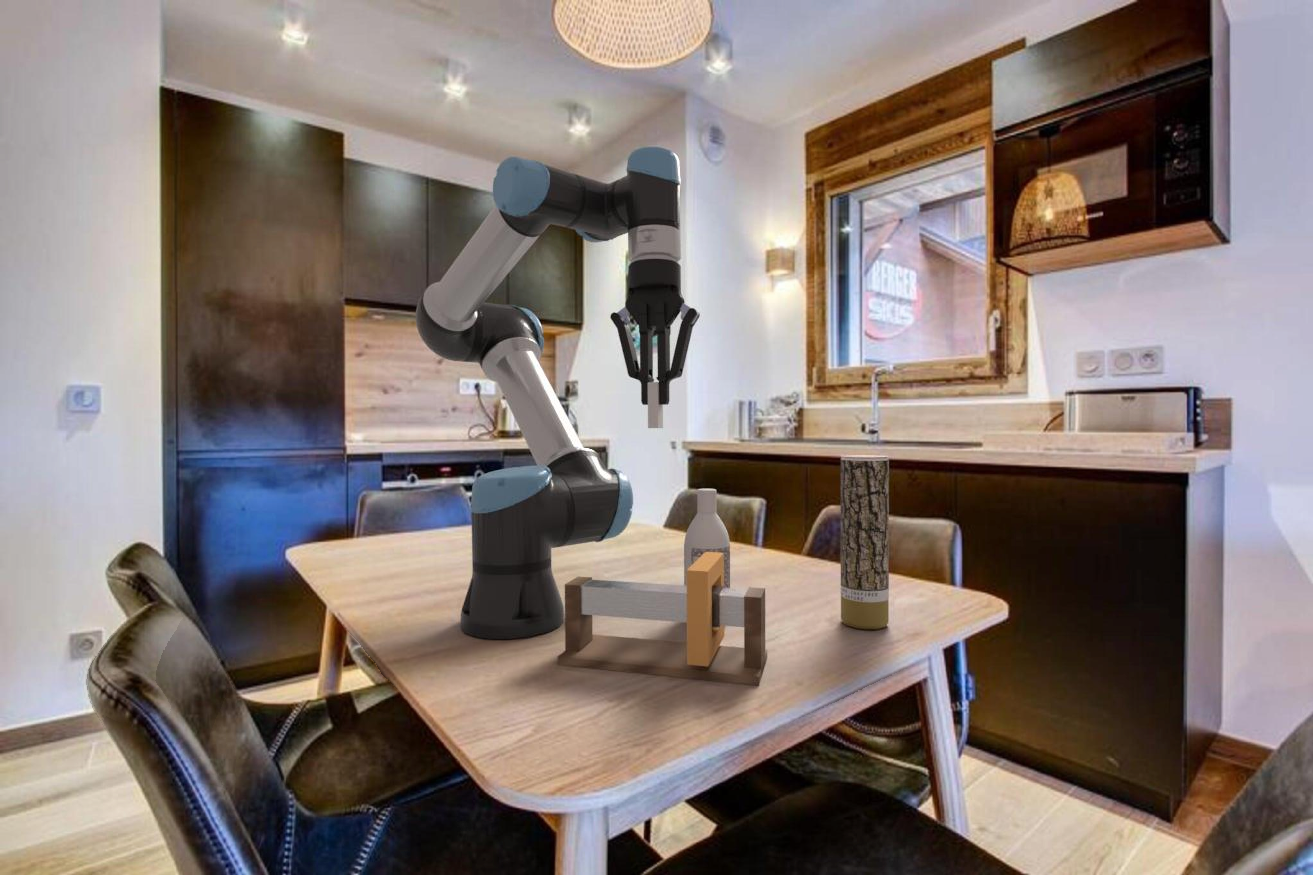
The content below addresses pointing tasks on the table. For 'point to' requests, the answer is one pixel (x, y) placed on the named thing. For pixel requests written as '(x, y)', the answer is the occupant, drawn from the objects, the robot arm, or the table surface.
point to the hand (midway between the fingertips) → (655, 427)
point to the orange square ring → (703, 608)
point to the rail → (658, 602)
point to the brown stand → (664, 646)
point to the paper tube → (865, 541)
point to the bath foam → (706, 534)
